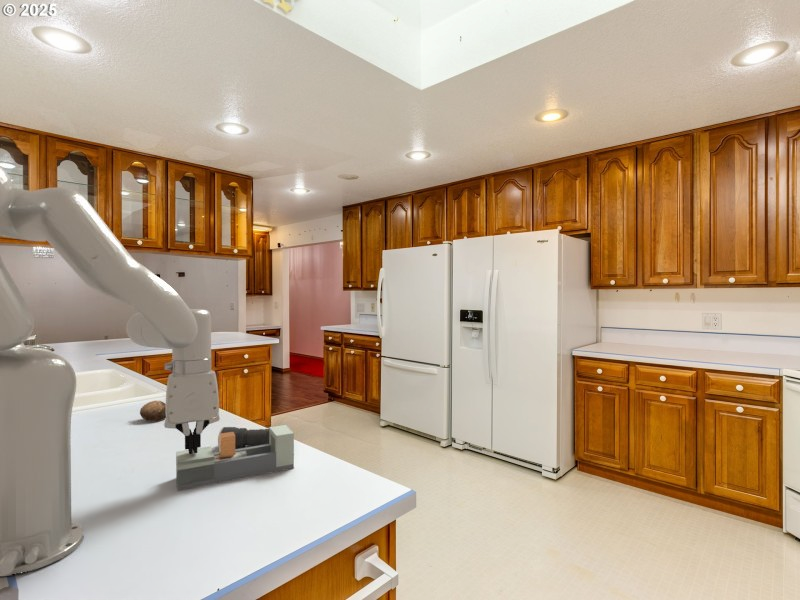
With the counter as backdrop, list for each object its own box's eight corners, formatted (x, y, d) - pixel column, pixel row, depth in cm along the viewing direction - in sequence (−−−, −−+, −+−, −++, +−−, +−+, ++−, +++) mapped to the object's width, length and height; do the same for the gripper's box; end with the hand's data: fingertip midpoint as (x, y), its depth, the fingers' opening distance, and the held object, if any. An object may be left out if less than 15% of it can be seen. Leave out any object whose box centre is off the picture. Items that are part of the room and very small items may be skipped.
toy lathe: (177, 490, 89) (177, 451, 89) (176, 477, 95) (176, 440, 95) (293, 468, 101) (293, 433, 100) (286, 457, 107) (286, 424, 107)
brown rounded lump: (141, 407, 140) (147, 393, 138) (167, 413, 143) (173, 400, 141) (133, 425, 133) (139, 411, 131) (160, 432, 137) (167, 418, 134)
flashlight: (283, 444, 117) (283, 424, 117) (278, 451, 112) (278, 430, 112) (225, 444, 116) (225, 424, 116) (217, 451, 111) (217, 430, 111)
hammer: (177, 480, 91) (176, 444, 90) (176, 474, 93) (176, 439, 93) (247, 467, 97) (247, 433, 97) (244, 462, 100) (244, 429, 100)
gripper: (151, 372, 86) (152, 464, 87) (231, 366, 93) (232, 451, 94) (152, 366, 93) (153, 452, 93) (227, 361, 100) (227, 440, 100)
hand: (192, 451), depth 93 cm, fingers closed
